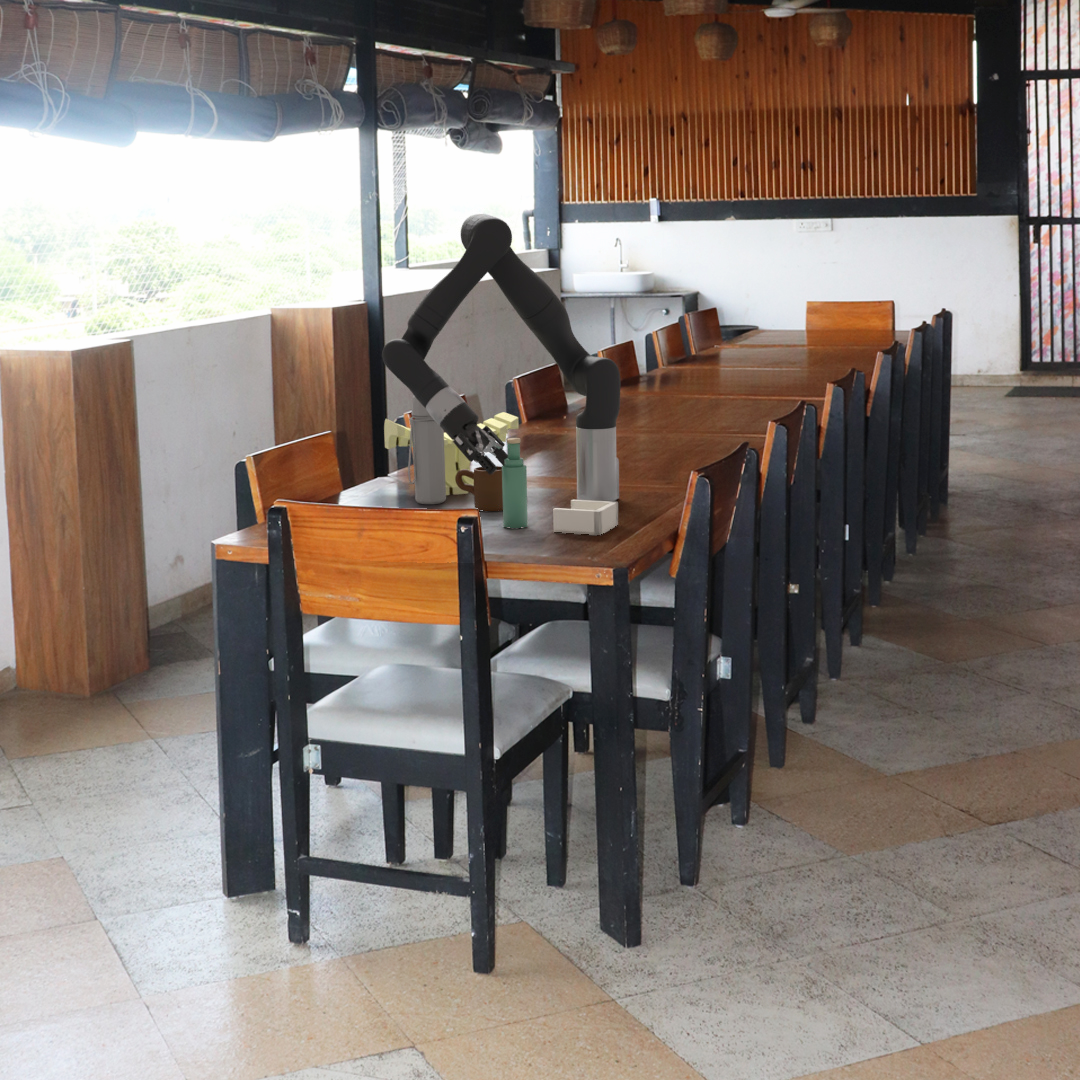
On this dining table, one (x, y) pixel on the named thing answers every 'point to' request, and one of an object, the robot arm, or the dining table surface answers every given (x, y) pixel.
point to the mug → (483, 488)
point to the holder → (586, 517)
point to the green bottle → (514, 487)
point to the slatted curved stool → (451, 446)
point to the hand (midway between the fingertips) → (502, 468)
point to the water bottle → (427, 456)
